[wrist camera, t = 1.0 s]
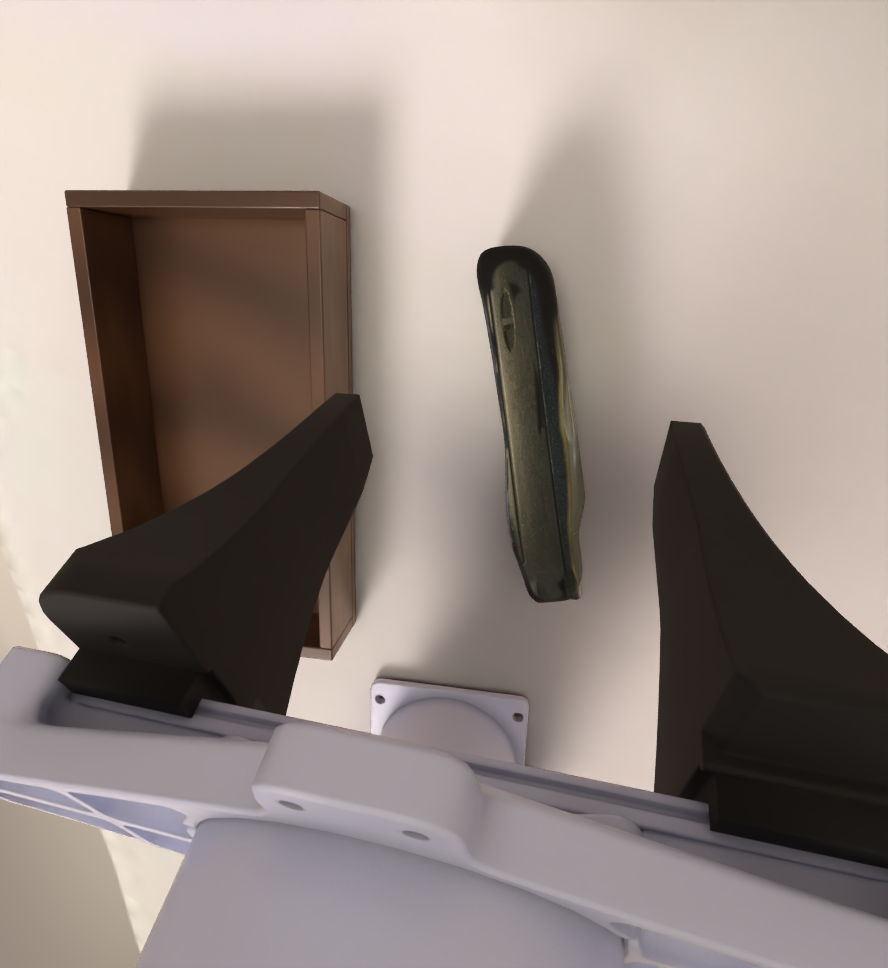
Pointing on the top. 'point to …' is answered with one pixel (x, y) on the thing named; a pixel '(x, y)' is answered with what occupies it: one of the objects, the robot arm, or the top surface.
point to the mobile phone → (535, 420)
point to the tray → (212, 345)
